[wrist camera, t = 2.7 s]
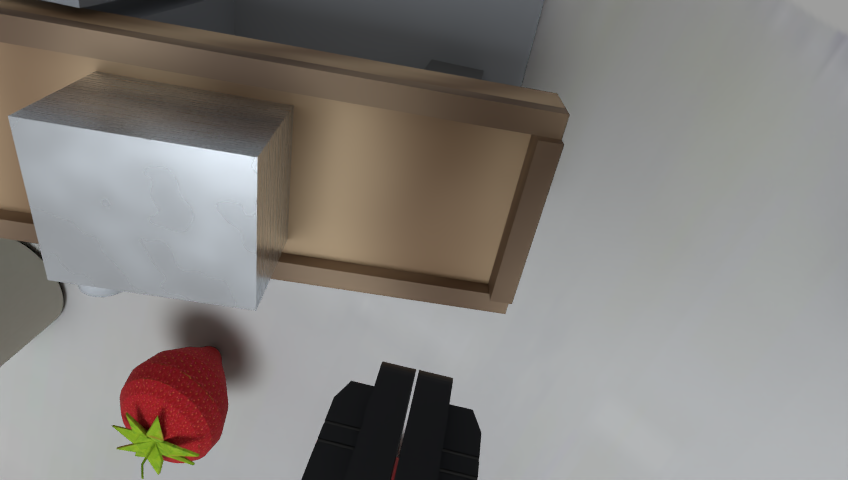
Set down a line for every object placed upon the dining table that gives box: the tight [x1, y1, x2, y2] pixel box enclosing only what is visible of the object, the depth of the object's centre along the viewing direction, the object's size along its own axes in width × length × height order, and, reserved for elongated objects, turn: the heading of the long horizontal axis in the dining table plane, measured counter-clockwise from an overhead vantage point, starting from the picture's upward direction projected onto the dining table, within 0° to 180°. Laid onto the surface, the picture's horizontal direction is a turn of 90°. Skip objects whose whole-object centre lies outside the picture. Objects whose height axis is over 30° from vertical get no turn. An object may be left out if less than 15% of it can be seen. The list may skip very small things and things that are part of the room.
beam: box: [0, 0, 569, 314], centre depth 18 cm, size 32×8×3 cm, turn 80°
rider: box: [8, 71, 294, 311], centre depth 16 cm, size 6×5×4 cm
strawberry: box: [113, 346, 228, 479], centre depth 34 cm, size 6×8×10 cm
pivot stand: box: [41, 0, 544, 297], centre depth 23 cm, size 30×14×11 cm, turn 80°
